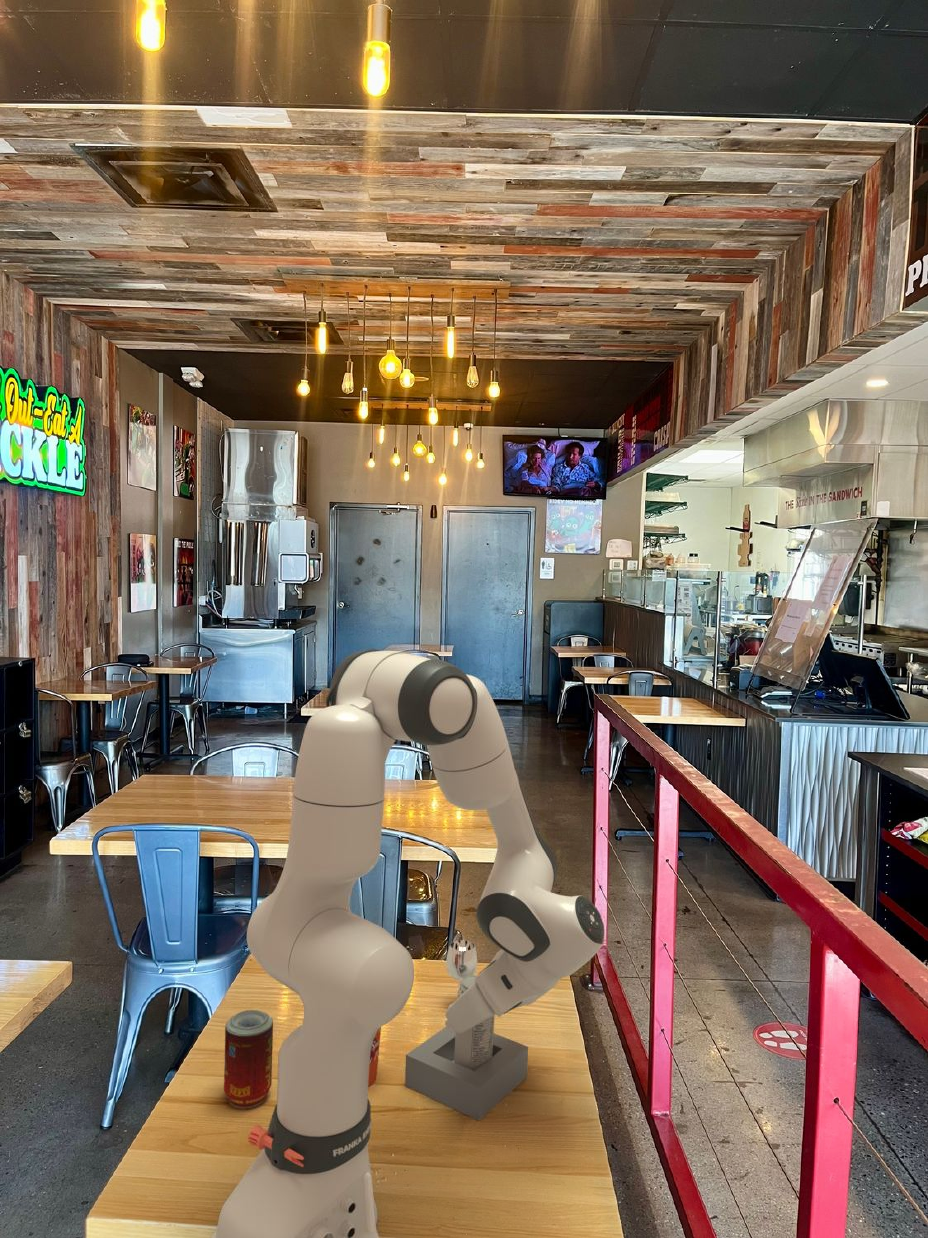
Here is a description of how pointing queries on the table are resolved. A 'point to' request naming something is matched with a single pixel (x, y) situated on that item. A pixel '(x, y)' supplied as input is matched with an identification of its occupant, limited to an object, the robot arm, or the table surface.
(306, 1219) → the robot arm
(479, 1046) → the energy drink can
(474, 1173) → the table surface
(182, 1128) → the table surface
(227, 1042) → the soda can
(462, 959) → the wineglass
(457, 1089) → the socket block
